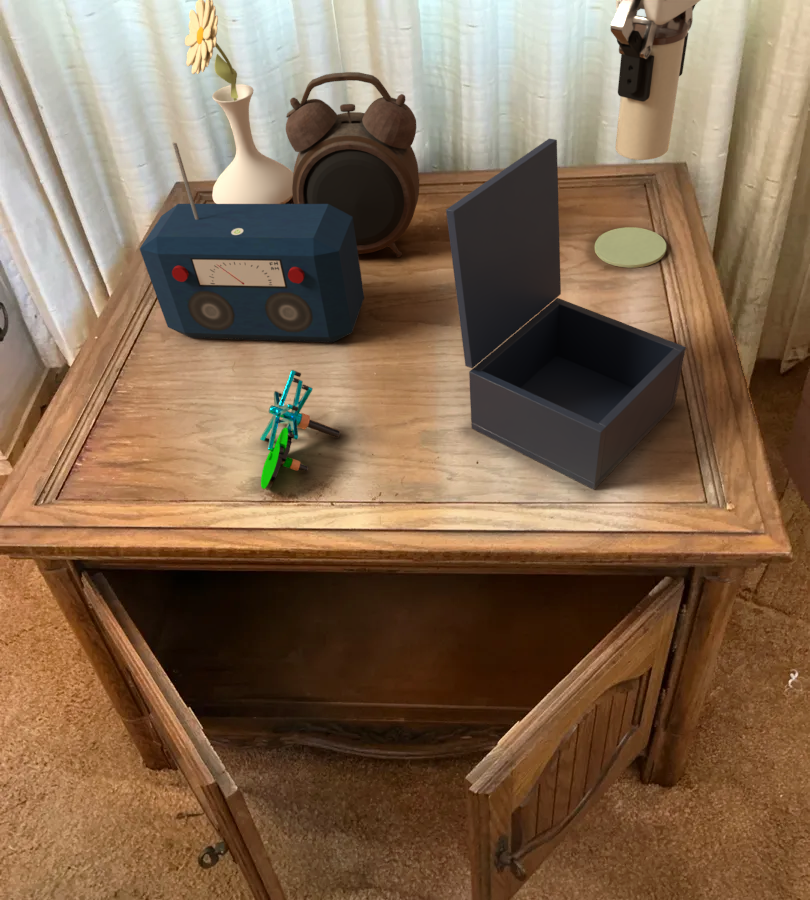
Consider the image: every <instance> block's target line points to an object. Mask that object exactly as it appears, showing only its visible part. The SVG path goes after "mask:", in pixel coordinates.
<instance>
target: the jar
mask: <svg viewBox="0 0 810 900" xmlns="http://www.w3.org/2000/svg"><path fill="white" fill-rule="evenodd" d="M688 27H689V26H688V24H687V22H685V21H684V20H682V19H679V18H676V17H675V18H673V19H672V20H670V21H669V22H667V23H665V24H663V25H658V26H657V30H656V34H655V38H654V41H653V45H652V49H651V53H650V55H652V56H654V63H653V71H652V79H651V87H650V95H649V98H648V99H647V100H646V101H644V102H642V101H638V100H634V99H629V98H625V97H621V96H619V97H620V99H619V107H618V117H617V118H618V119H617V127H616V136H615V137H616V138H615V147H614V148H615V151H616V153H617V154H618V155H620V156H621V157H623V158H626V159H630V160H635V161H646V160H647V161H648V160H653V159H657V158H660V157H663V156H664V155H665V154H666V153H668V151H669V146H670V140H671V134H672V128H673V119H674V114H675V108H676V107H675V106H676V100H677V93H678V86H679V79H680V76H679V73H680V66H681V60H682V53H683V46H684V39H685V37H686V36H687V34H688V35H689V31H688ZM645 29H646V25H640V24H636V25H635V29H634V30H635V31H638V32H639V33H640V35H641V37H642V39H643V37H644V33H645Z"/></svg>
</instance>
